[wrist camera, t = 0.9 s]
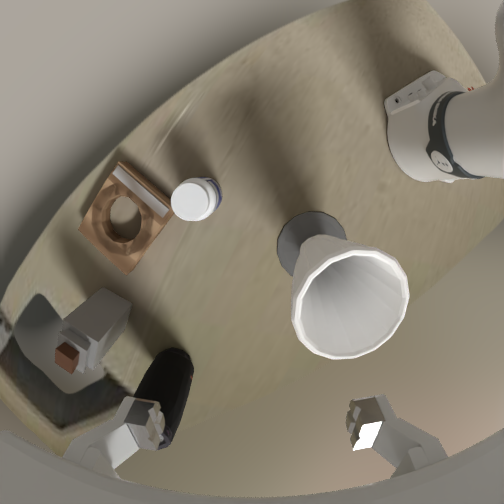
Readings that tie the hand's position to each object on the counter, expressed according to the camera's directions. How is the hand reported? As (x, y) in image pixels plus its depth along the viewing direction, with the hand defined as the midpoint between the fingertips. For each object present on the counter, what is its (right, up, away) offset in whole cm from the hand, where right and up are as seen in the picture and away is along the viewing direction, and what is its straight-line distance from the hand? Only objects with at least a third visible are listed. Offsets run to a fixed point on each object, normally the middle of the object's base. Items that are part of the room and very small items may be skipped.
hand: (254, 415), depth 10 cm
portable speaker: (-15, -15, +41) cm, 46 cm away
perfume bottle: (-27, -4, +38) cm, 47 cm away
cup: (+9, +8, +34) cm, 36 cm away
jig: (-21, +13, +33) cm, 41 cm away
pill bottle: (-7, +15, +32) cm, 36 cm away
